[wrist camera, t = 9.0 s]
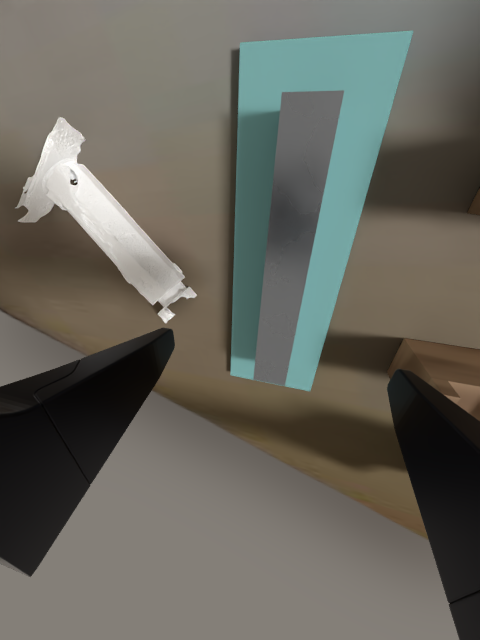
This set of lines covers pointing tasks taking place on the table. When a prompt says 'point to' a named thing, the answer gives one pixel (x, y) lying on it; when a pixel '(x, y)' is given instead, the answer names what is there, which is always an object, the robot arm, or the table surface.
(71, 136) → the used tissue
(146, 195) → the table surface
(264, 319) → the rail
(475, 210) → the stand
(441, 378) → the stand
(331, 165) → the mat
